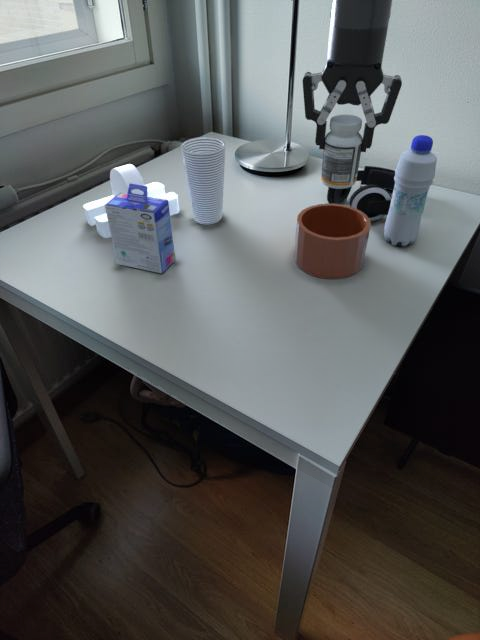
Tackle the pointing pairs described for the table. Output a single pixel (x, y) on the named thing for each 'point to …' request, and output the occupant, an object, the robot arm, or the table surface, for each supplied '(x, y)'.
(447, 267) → the table surface
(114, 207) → the ink cartridge box
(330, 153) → the pill bottle
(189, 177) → the cup
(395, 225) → the bottle
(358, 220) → the crock
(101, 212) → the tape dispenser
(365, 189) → the headphones
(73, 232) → the table surface
